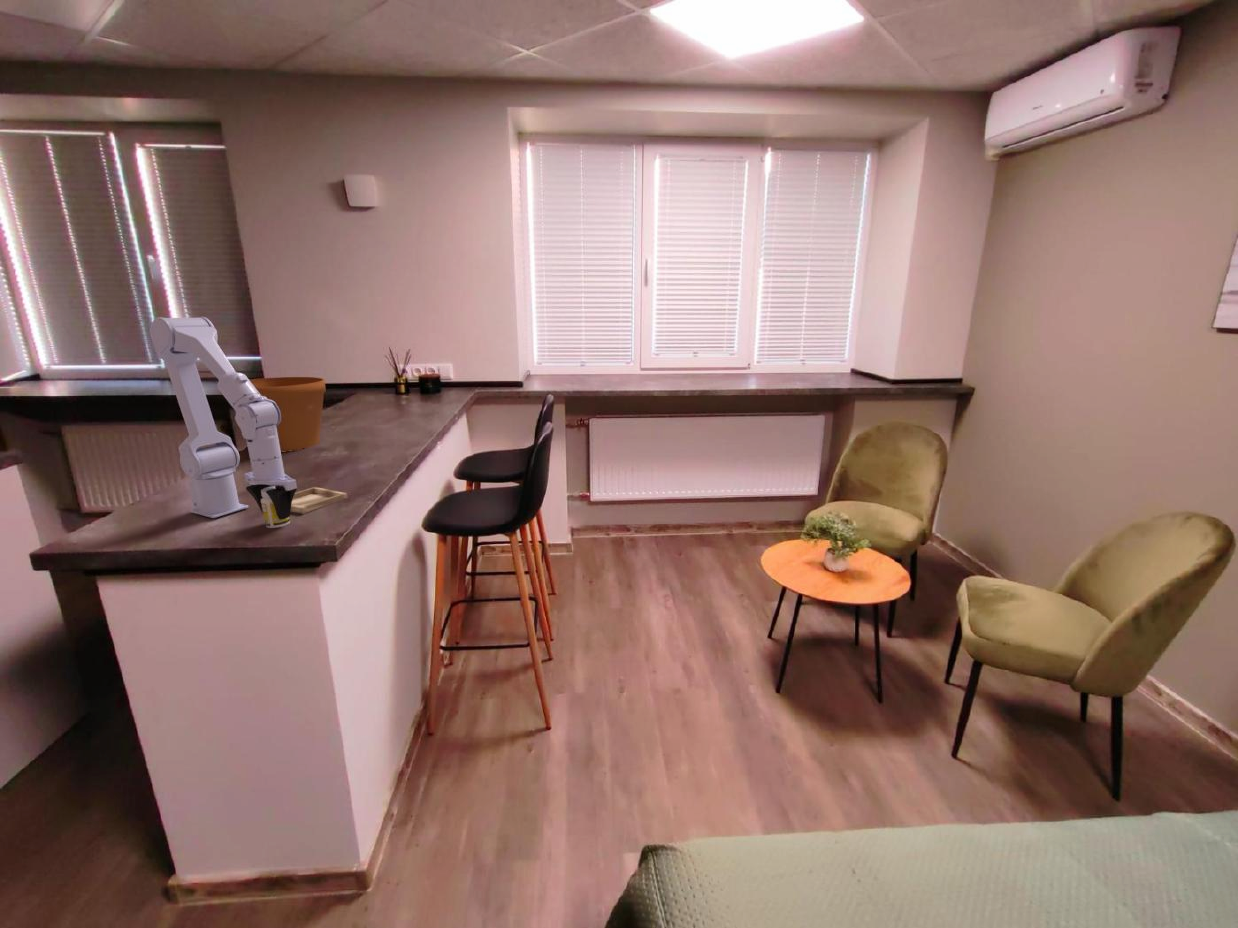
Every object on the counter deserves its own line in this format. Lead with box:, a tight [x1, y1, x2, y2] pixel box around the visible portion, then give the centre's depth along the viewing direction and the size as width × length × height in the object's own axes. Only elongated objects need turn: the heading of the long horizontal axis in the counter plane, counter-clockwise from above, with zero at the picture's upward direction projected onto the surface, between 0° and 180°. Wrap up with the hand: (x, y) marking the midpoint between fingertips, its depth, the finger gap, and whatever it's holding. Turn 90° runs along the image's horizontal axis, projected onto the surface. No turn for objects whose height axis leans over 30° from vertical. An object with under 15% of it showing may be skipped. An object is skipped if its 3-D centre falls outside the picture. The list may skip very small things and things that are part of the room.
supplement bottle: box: [261, 486, 291, 529], centre depth 119 cm, size 5×5×8 cm
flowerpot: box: [249, 376, 327, 451], centre depth 180 cm, size 28×28×24 cm
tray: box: [290, 486, 348, 516], centre depth 133 cm, size 12×12×2 cm
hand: (276, 516), depth 120 cm, fingers closed on supplement bottle, 5 cm apart
